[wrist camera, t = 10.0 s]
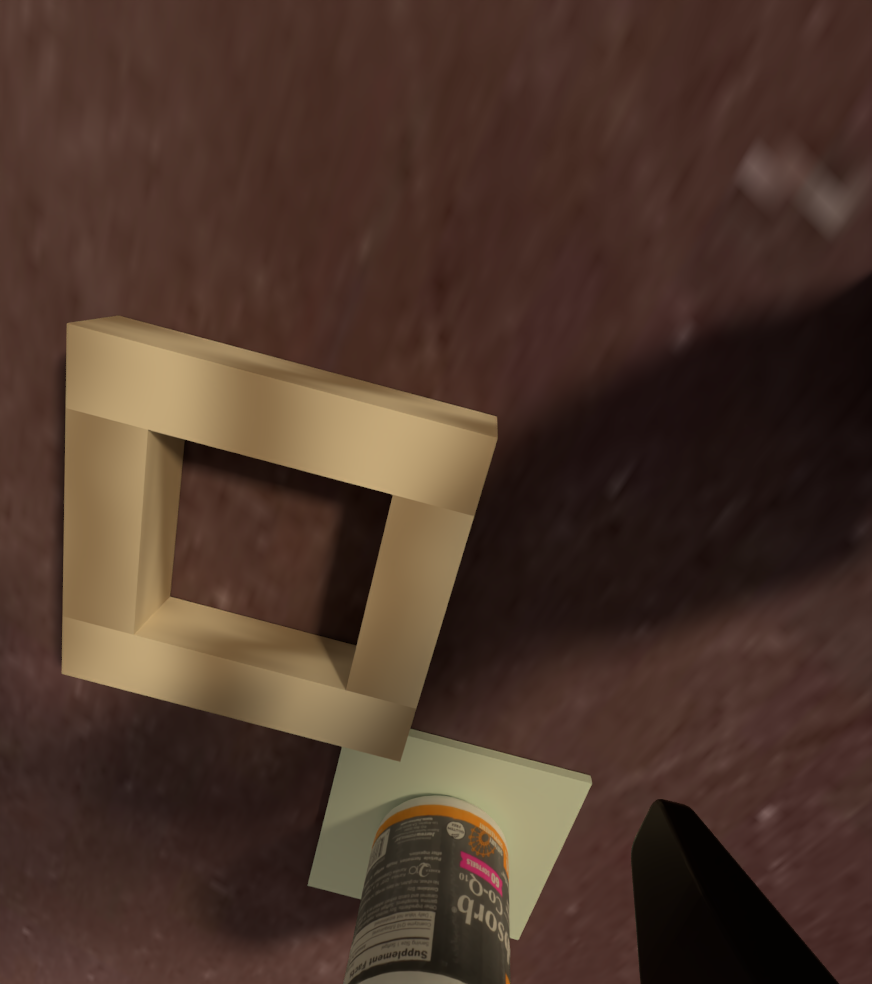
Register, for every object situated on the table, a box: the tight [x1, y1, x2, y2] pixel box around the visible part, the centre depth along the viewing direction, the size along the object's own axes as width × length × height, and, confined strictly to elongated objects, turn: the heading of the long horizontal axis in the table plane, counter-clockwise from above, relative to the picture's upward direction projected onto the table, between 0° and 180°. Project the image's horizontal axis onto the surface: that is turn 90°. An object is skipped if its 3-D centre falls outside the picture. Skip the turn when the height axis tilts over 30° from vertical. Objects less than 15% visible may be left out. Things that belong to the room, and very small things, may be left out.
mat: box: [307, 729, 592, 940], centre depth 26 cm, size 10×10×1 cm
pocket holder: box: [62, 316, 498, 762], centre depth 20 cm, size 12×12×2 cm
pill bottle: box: [343, 795, 511, 984], centre depth 21 cm, size 6×6×10 cm
